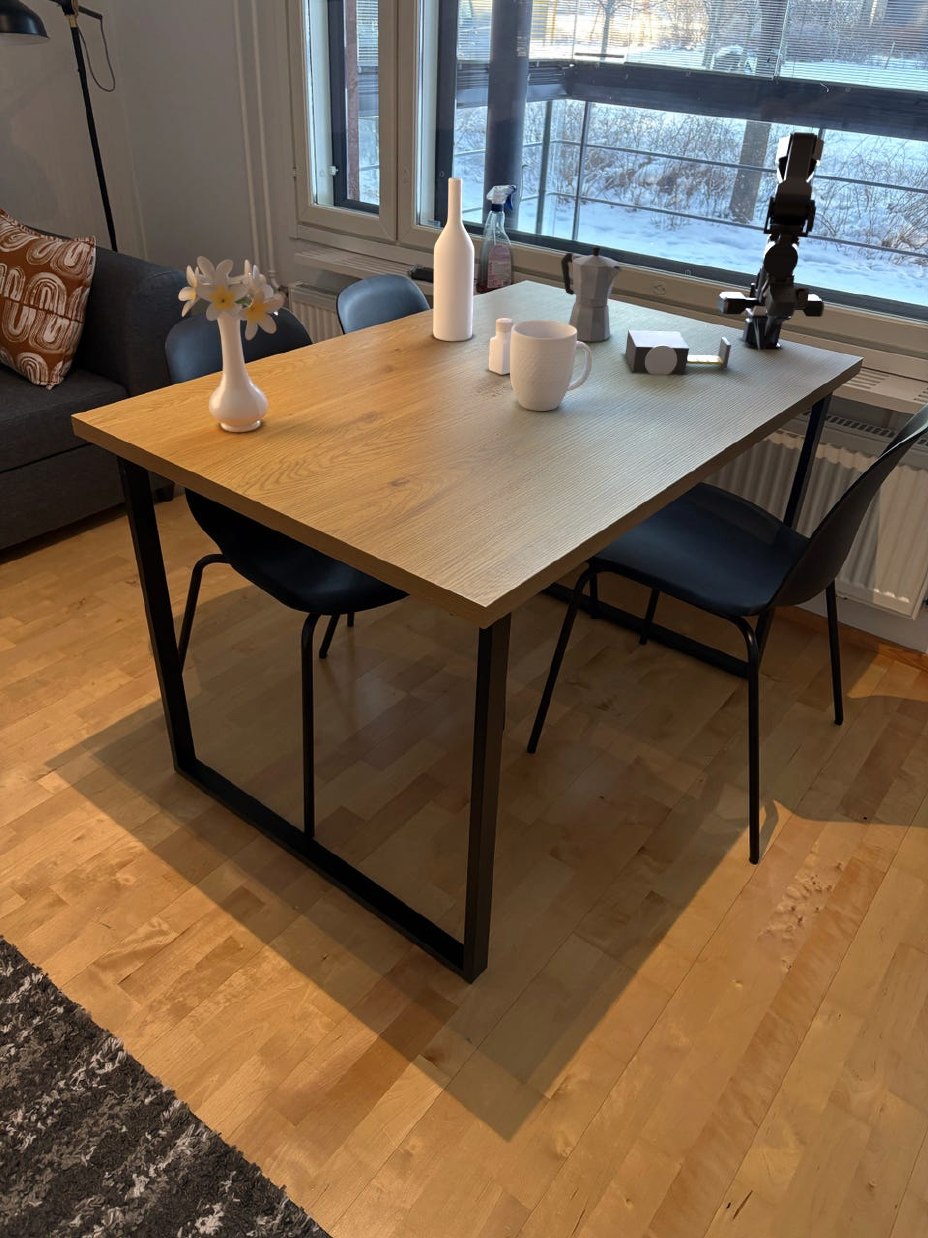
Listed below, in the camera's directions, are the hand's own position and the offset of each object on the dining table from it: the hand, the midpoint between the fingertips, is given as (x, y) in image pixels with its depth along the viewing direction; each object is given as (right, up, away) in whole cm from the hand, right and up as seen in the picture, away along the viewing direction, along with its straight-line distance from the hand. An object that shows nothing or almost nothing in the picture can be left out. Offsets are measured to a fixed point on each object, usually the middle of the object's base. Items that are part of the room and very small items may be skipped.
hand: (760, 349), depth 176 cm
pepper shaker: (-50, -5, -4) cm, 51 cm away
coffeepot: (-32, +8, +18) cm, 38 cm away
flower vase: (-93, -21, -30) cm, 100 cm away
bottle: (-60, +7, +14) cm, 62 cm away
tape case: (-20, -2, +2) cm, 21 cm away
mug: (-44, -15, -18) cm, 50 cm away
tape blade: (-12, -2, +2) cm, 12 cm away
